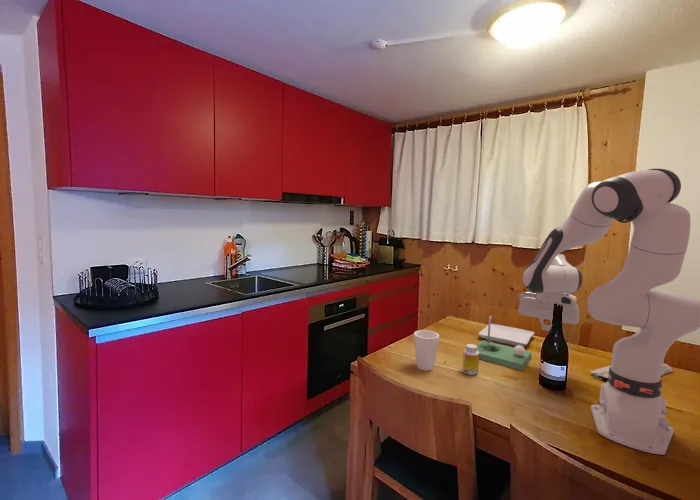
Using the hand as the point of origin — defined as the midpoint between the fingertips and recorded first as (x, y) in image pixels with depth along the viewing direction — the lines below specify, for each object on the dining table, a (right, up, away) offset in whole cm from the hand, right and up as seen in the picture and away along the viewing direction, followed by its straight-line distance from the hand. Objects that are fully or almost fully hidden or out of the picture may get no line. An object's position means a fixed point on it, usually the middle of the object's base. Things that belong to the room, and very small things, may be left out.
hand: (546, 330), depth 135 cm
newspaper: (+31, -17, -2) cm, 35 cm away
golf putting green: (-13, -14, +11) cm, 22 cm away
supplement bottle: (-30, -15, -3) cm, 34 cm away
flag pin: (-13, -10, +21) cm, 27 cm away
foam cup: (-46, -15, 0) cm, 49 cm away
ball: (-7, -10, +6) cm, 14 cm away
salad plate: (-1, -12, +33) cm, 35 cm away
